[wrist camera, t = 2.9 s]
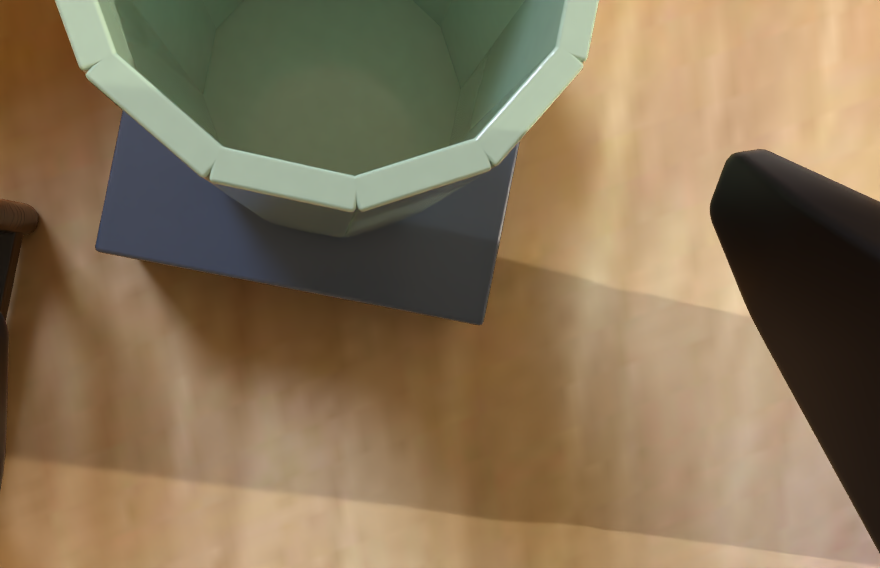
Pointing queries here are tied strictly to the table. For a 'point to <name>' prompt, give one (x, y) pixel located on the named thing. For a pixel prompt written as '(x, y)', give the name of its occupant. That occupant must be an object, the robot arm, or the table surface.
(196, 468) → the table surface
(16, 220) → the rack
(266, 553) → the table surface
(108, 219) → the shelf
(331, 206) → the tumbler
